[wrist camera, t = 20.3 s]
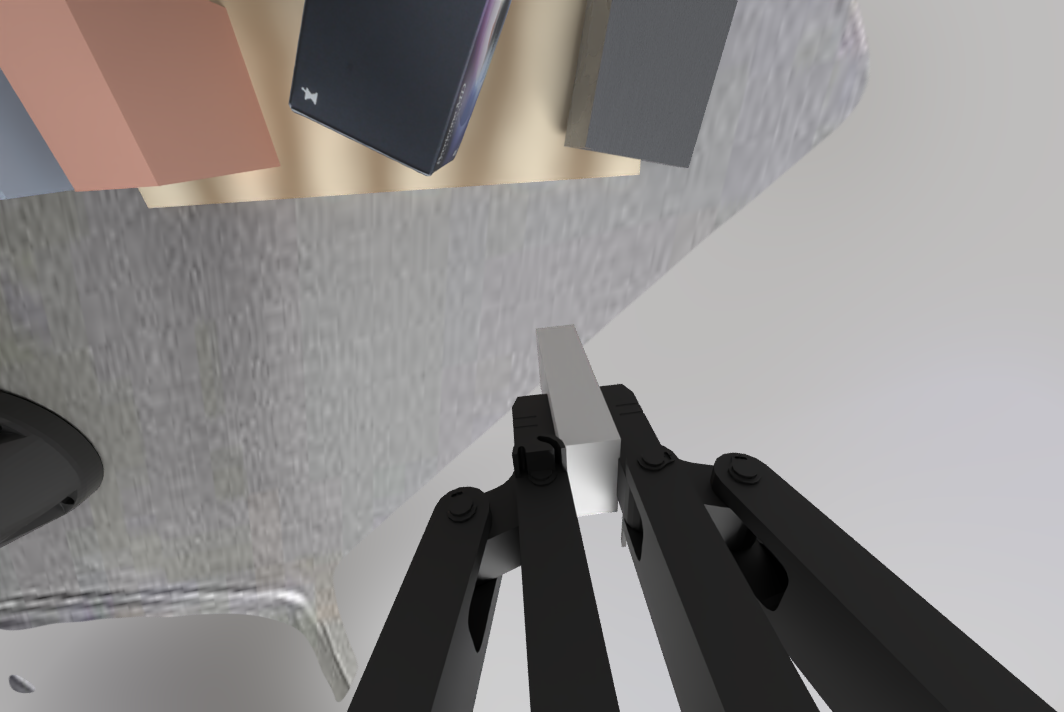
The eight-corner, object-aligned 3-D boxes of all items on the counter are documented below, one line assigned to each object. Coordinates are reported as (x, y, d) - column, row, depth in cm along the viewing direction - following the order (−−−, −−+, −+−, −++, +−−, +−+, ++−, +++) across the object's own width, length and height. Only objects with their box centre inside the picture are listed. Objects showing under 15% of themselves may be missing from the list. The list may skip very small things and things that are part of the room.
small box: (458, 167, 26) (433, 186, 17) (361, 117, 25) (277, 110, 16) (525, -21, 22) (538, -128, 13) (411, -98, 20) (334, -284, 11)
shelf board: (159, 205, 27) (148, 208, 27) (14, -77, 20) (-8, -86, 19) (635, 173, 28) (639, 174, 27) (655, -111, 21) (662, -121, 20)
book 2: (227, 169, 26) (75, 191, 17) (162, 11, 22) (-86, -74, 13) (280, 166, 26) (158, 186, 17) (225, 8, 22) (24, -80, 13)
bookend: (585, 147, 22) (712, 170, 25) (624, -71, 18) (771, -14, 21) (563, 146, 25) (679, 167, 28) (593, -42, 21) (725, 5, 24)
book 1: (147, 175, 26) (-98, 206, 15) (66, 17, 21) (-342, -88, 11) (208, 171, 26) (7, 198, 15) (139, 12, 22) (-198, -95, 11)
